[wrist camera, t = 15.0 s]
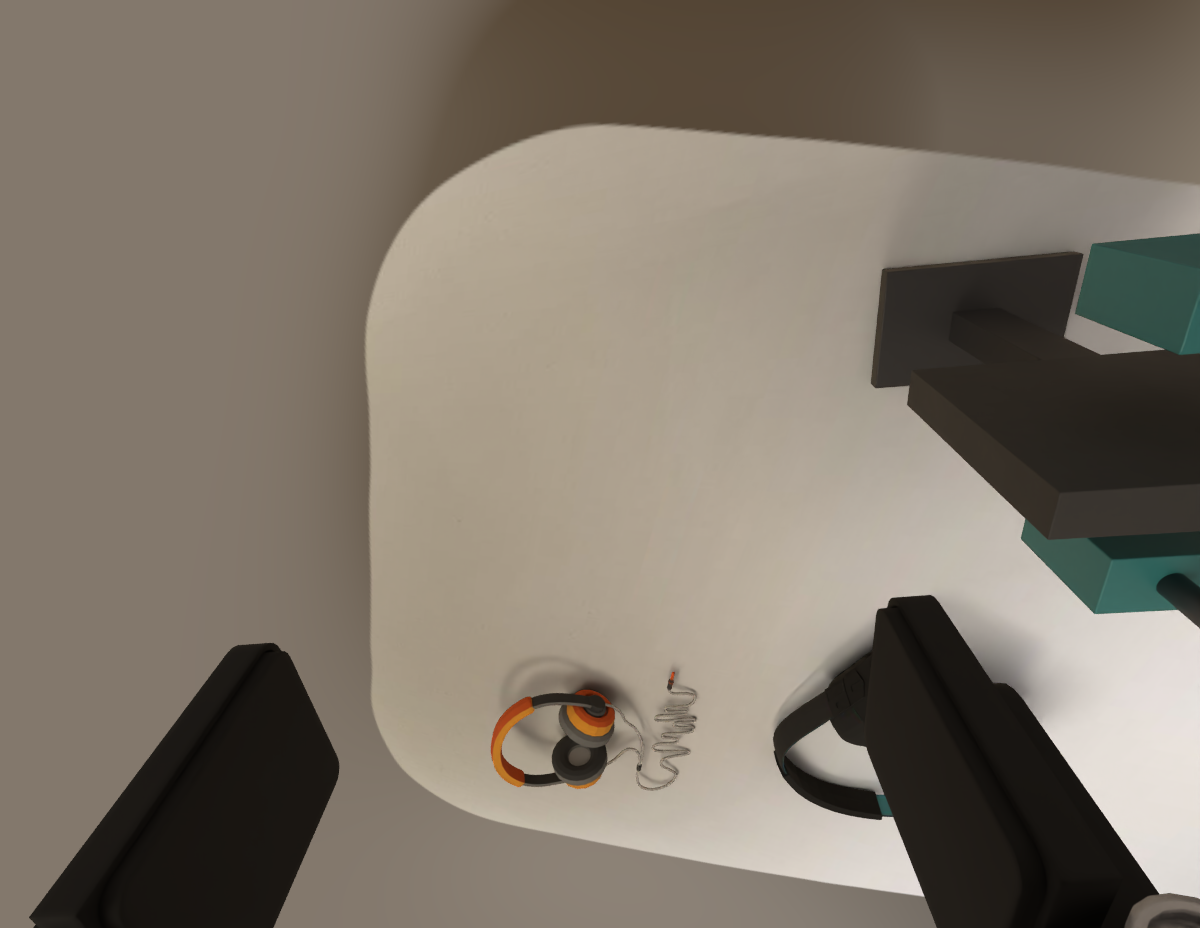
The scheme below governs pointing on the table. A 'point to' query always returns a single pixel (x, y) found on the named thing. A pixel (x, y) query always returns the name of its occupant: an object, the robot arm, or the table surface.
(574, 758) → the headphones
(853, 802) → the virtual reality headset
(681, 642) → the table surface
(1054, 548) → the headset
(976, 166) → the table surface
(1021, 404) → the monitor
